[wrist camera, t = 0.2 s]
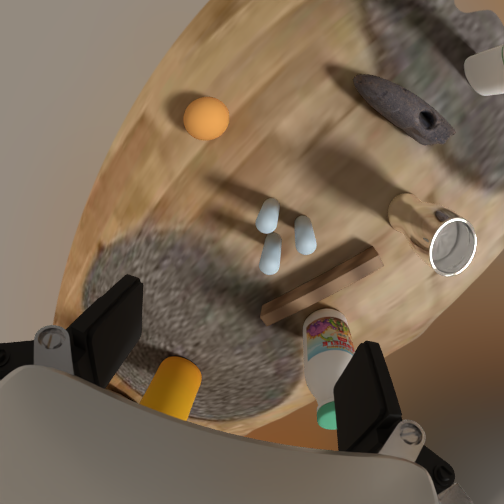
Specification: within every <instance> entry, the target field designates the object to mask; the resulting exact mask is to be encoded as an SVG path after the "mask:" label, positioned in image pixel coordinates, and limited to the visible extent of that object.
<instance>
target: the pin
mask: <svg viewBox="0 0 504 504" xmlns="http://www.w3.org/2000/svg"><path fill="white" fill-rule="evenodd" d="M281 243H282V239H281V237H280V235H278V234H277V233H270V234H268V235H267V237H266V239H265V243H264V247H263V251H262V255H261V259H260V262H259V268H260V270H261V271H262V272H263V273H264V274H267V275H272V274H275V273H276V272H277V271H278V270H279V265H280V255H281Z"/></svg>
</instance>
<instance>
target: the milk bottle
mask: <svg viewBox="0 0 504 504" xmlns="http://www.w3.org/2000/svg"><path fill="white" fill-rule="evenodd" d="M303 352H304V373H305V380H306V383H307V386H308V388H309V390H310V391H311V393H312V394H313V396H314V397H315V398H316V400H317V403H318V407H317V422H318V424H319V425H320V426H321V427H323V428H325V429H337V425H336V414H335V404H334V394H333V389H334V386H335V384H336V382H337V380H338V379H339V377H340V376H341V374H342V373H343V371H344V369H345V368H346V366H347V365H348V363H349V361H350V360H351V358H352V356H353V355H354V353H355V351H354V346H353V342H352V338H351V334H350V330H349V326H348V323H347V320H346V318H345V316H344V315H343V314H342V313H340V312H339V311H337V310H334V309H327V308H326V309H320V310H317V311H315V312H313V313H312V314H310V316H309V317H308V318H307V319H306V320H305V322H304V325H303Z"/></svg>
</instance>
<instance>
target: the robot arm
mask: <svg viewBox="0 0 504 504" xmlns="http://www.w3.org/2000/svg"><path fill="white" fill-rule="evenodd" d="M142 303H143V283H141V282H140V279H139V278H137V277H134V276H131V275H129V274H127V275H125V276H124V277H123V278H122V279H121V280H119V281H118V282H117V283H116V284H115V285H114V286H113V287H112V288H111V289H110V290H108V291H107V292H106V293H105V294H104V295H103V296H102V297H100V298H98V299H97V300H96V301H95V302H94V303H93V304H92V305H91V306H90V307H89V308H88V309H87V310H85V311H84V312H83V313H82V314H81V315H80V316H79V317H78V318H77V319H76V320H75V321H74V322H73V323H72V324H71V325H70V326H69V327H68V328H67V329H66V330H65V329H64V328H62V327H60V326H56V325H50V326H45V327H43V328H41V329H40V330H39V331H38V332H37V333H36V335H35V339H34V340H32V341H22V342H13V343H0V504H474V503H473V502H472V501H471V499H470V498H469V497H468V496H467V494H466V493H465V492H464V490H463V489H462V488H461V486H460V485H459V484H458V483H456V484H454V479H455V474H454V470H453V468H452V467H451V466H450V465H449V464H448V463H447V462H446V461H444V460H443V459H441V458H440V457H439V456H438V455H436V454H435V453H434V452H432V451H431V450H430V449H428V448H427V447H426V446H424V442H425V433H424V430H423V429H422V428H421V426H420V425H419V424H417V423H416V422H414V421H411V420H403V421H402V417H401V415H402V413H401V410H400V406H399V403H398V399H397V396H396V393H395V390H394V387H393V383H392V380H391V377H390V374H389V371H388V368H387V365H386V362H385V360H384V356H383V354H382V351H381V348H380V345H379V343H376V342H371V341H365V342H364V343H361V344H360V345H359V346H358V348H357V350H356V351H355V353H354V355H353V356H352V358H351V360H350V361H349V363H348V365H347V366H346V368H345V369H344V371H343V373H342V374H341V376H340V377H339V379H338V380H337V382H336V384H335V386H334V389H333V394H334V404H335V414H336V425H337V437H338V450H339V451H332V450H322V449H312V448H304V447H297V446H290V445H284V444H277V443H272V442H266V441H261V440H256V439H252V438H247V437H243V436H238V435H234V434H230V433H226V432H222V431H218V430H215V429H211V428H207V427H204V426H201V425H197V424H194V423H191V422H188V421H185V420H181V419H178V418H175V417H173V416H170V415H167V414H164V413H161V412H159V411H156V410H153V409H151V408H148V407H146V406H143V405H141V404H138V403H136V402H133V401H131V400H129V399H126V398H124V397H121V396H119V395H117V394H114V393H112V392H110V391H108V390H106V389H105V388H106V387H107V385H108V384H109V382H110V381H111V379H112V378H113V376H114V375H115V373H116V372H117V370H118V369H119V367H120V366H121V365H122V363H123V362H124V360H125V359H126V357H127V356H128V354H129V353H130V352H131V350H132V349H133V347H134V346H135V344H136V343H137V342H138V340H139V339H140V337H141V333H142Z"/></svg>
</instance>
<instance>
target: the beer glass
mask: <svg viewBox="0 0 504 504" xmlns="http://www.w3.org/2000/svg"><path fill="white" fill-rule="evenodd" d="M388 220H389V223H390V225H391V226H392V227H393V228H394V229H395V230H396V231H398V232H400V233H403V234H404V235H405V237H406V239H407V241H408V243H409V245H410V246H411V248H412V249H413V251H414V252H415V253H416V254H417V255H418V257H419V258H420V259H421V260H423V261H424V262H425V263H426V264H427V265H428V266H430V267H431V268H432V269H434V270H435V271H436V272H437V273H438V274H440V275H442V276H453V275H456V274H458V273H460V272H461V271H463V270H464V269H465V268H466V267H467V266H468V264H469V263H470V261H471V260H472V258H473V256H474V253H475V249H476V233H475V230H474V228H473V226H472V225H471V223H470V222H469V221H467V220H466V219H464V218H463V217H461V216H460V215H458V214H457V213H456V212H454V211H452V210H451V209H449V208H447V207H444V206H442V205H439V204H435V203H428V202H421V201H420V200H419V199H418V198H417V197H416V196H415V195H413V194H410V193H402V194H399V195H398V196H396V197H395V198H394V199H393V200H392V201H391V203H390V205H389V208H388Z"/></svg>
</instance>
